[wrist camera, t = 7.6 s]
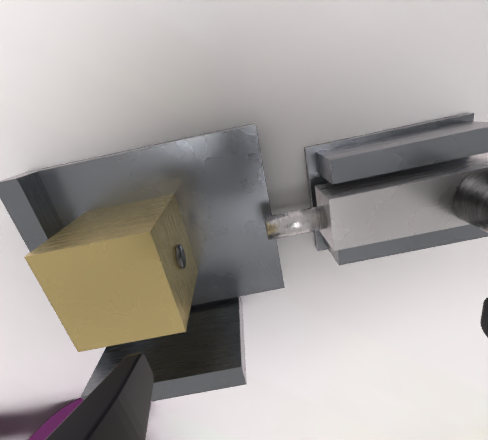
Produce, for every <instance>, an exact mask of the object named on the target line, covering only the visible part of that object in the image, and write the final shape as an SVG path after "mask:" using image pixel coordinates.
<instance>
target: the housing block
mask: <svg viewBox="0 0 488 440" xmlns="http://www.w3.org/2000/svg"><path fill="white" fill-rule="evenodd" d="M25 259H26V261H27V263H28V264H29V266H30V268H31V270H32V271H33V273H34V275H35V277H36V278H37V280H38V282H39V284H40V285H41V287H42V289H43V291H44V293H45V294H46V296H47V298H48V300H49V301H50V303H51V305H52V307H53V308H54V310H55V312H56V314H57V316H58V317H59V319H60V321H61V323H62V324H63V326H64V328H65V330H66V331H67V333H68V335H69V337H70V338H71V340H72V342H73V344H74V346H75V347H76V349H77V351H78V352H81V351H86V350H91V349H97V348H102V347H107V346H113V345H118V344H123V343H129V342H134V341H139V340H144V339H150V338H155V337H160V336H166V335H171V334H176V333H182V332H186V329H187V324H188V319H189V314H190V309H191V304H192V299H193V294H194V289H195V284H196V279H197V274H198V269H197V266H196V263H195V259H194V256H193V253H192V250H191V246H190V243H189V240H188V236H187V233H186V230H185V227H184V223H183V220H182V217H181V214H180V210H179V207H178V204H177V201H176V197H175V194H170V195H165V196H160V197H155V198H150V199H146V200H141V201H136V202H131V203H126V204H121V205H117V206H112V207H107V208H102V209H97V210H92V211H88V212H85V213H84V214H82V215H81V216H79V217H78V218H77V219H75V220H74V221H73V222H71V223H70V224H69V225H67V226H66V227H65V228H63V229H62V230H60V231H59V232H58V233H56V234H55V235H54V236H52V237H51V238H50V239H48V240H47V241H45V242H44V243H43V244H41V245H40V246H39V247H37V248H36V249H35V250H33V251H32V252H30V253H29V254H28V255H26V256H25Z"/></svg>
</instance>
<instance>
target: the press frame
mask: <svg viewBox="0 0 488 440" xmlns="http://www.w3.org/2000/svg"><path fill="white" fill-rule="evenodd" d="M473 118H474V113H465V114H461V115H456V116H451V117H446V118H442V119H437V120H432V121H427V122H423V123H418V124H413V125H408V126H404V127H399V128H394V129H389V130H385V131H380V132H375V133H370V134H366V135H361V136H356V137H351V138H347V139H342V140H337V141H332V142H328V143H323V144H318V145H313V146H309V147H304V148H305V157H306V165H307V174H308V182H309V191H310V199H311V208H312V207H317V202H316V193H315V186H316V185H321V184H326V183H331V184H337V183H341V182H346V181H351V180H356V179H361V178H366V177H371V176H376V175H380V174H385V173H390V172H395V171H400V170H405V169H410V168H415V167H420V166H424V165H429V164H434V163H439V162H444V161H449V160H454V159H459V158H463V157H468V156H473V155H478V154H483V153H488V123H486V122H473ZM170 194H175V197H176V201H177V204H178V207H179V210H180V214H181V217H182V220H183V223H184V227H185V230H186V233H187V236H188V240H189V243H190V246H191V250H192V253H193V256H194V259H195V263H196V266H197V269H198V274H197V279H196V284H195V289H194V294H193V299H192V304H191V309H190V314H189V319H188V324H187V329H186V332H182V333H176V334H171V335H166V336H160V337H155V338H150V339H144V340H139V341H134V342H129V343H123V344H118V345H113V346H107V347H106V349H105V351H104V353H103V355H102V357H101V359H100V361H99V362H98V364H97V366H96V368H95V370H94V372H93V374H92V376H91V378H90V380H89V382H88V384H87V386H86V388H85V390H84V392H83V393H82V395H81V397H82V399H83V400H84V399H85V398H86V397H87V396H88V395H89V394H90V393H91V392H92V391H93V390H94V389H95V388H96V387H97V386H98V385H99V384H100V383H101V382H102V381H103V380H104V379H105V378H106V377H107V375H108V374H109V373H110V372H111V371H112V370H113V369H114V368H115V367H116V366H117V365H118V364H119V363H120V362H121V361H122V360H123V359H124V358H125V357H126V356H128V355H131V354H137V353H143V354H144V355H145V357H146V359H147V361H148V364H149V366H150V368H151V370H152V373H153V377H154V383H153V390H152V397H151V401H156V400H162V399H167V398H173V397H178V396H184V395H189V394H195V393H201V392H206V391H212V390H217V389H223V388H228V387H234V386H239V385H245V384H246V366H245V348H244V329H243V311H242V302H241V298H240V296H244V295H249V294H254V293H259V292H264V291H270V290H275V289H280V288H284V282H283V277H282V271H281V265H280V260H279V254H278V248H277V243H276V239H271V240H268V236H267V232H266V227H265V221H264V217H267V216H272V214H271V209H270V203H269V197H268V192H267V186H266V180H265V175H264V169H263V163H262V158H261V152H260V146H259V141H258V135H257V129H256V124H254V123H253V124H249V125H244V126H239V127H235V128H230V129H226V130H221V131H216V132H212V133H207V134H202V135H198V136H193V137H188V138H184V139H179V140H174V141H170V142H165V143H160V144H156V145H151V146H146V147H142V148H137V149H133V150H128V151H123V152H119V153H114V154H109V155H105V156H100V157H95V158H91V159H86V160H81V161H77V162H72V163H67V164H63V165H58V166H53V167H49V168H44V169H39V170H35V171H30V172H26V173H23V174H20V175H17V176H14V177H11V178H8V179H5V180H2V181H0V198H1V200H2V202H3V204H4V206H5V208H6V209H7V211H8V213H9V215H10V217H11V218H12V220H13V222H14V224H15V226H16V227H17V229H18V231H19V233H20V235H21V236H22V238H23V240H24V242H25V244H26V245H27V247H28V249H29V251H30V252H32V251H33V250H35V249H36V248H37V247H39V246H40V245H41V244H43V243H44V242H45V241H47V240H48V239H50V238H51V237H52V236H54V235H55V234H56V233H58V232H59V231H60V230H62V229H63V228H65V227H66V226H67V225H69V224H70V223H71V222H73V221H74V220H75V219H77V218H78V217H79V216H81V215H82V214H84V213H85V212H88V211H92V210H97V209H102V208H107V207H112V206H117V205H121V204H126V203H131V202H136V201H141V200H146V199H150V198H155V197H160V196H165V195H170ZM314 233H315V241H316V248H317V250H318V251H320V250H325V249H328V250H329V251H330V252H331V254H332V255H333V257H334V258H335V260H336V261H337V263H338V264H339V265H343V264H348V263H353V262H358V261H363V260H368V259H374V258H379V257H384V256H389V255H394V254H399V253H404V252H410V251H415V250H420V249H425V248H430V247H435V246H440V245H446V244H451V243H456V242H461V241H466V240H471V239H477V238H482V237H487V236H488V233H487V232H485V231H483V230H481V229H479V228H477V227H475V226H473V225H471V224H469V225H464V226H459V227H454V228H449V229H443V230H438V231H433V232H428V233H423V234H418V235H413V236H408V237H403V238H398V239H393V240H387V241H382V242H377V243H372V244H367V245H362V246H357V247H352V248H347V249H342V250H336V251H333V249H332V248H331V246H330V245H329V243H328V242H327V241H326V239H325V238H324V236H323V235H322V234H321V232H320V230H317V231H314Z"/></svg>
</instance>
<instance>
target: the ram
mask: <svg viewBox="0 0 488 440" xmlns="http://www.w3.org/2000/svg"><path fill="white" fill-rule="evenodd" d="M315 193H316V202H317V207H312V208H307V209H302V210H297V211H292V212H287V213H282V214H277V215H272V216H267V217H264V221H265V227H266V232H267V236H268V240H271V239H276V238H281V237H286V236H291V235H296V234H301V233H307V232H312V231H317V230H320V232H321V234H322V235H323V236H324V238H325V239H326V241H327V242H328V243H329V245H330V246H331V248H332V249H333V251H336V250H342V249H347V248H352V247H357V246H362V245H367V244H372V243H377V242H382V241H387V240H393V239H398V238H403V237H408V236H413V235H418V234H423V233H428V232H433V231H438V230H443V229H449V228H454V227H459V226H464V225H469V224H471V225H473V226H475V227H477V228H479V229H481V230H483V231H485V232H487V233H488V153H483V154H478V155H473V156H468V157H463V158H459V159H454V160H449V161H444V162H439V163H434V164H429V165H424V166H420V167H415V168H410V169H405V170H400V171H395V172H390V173H385V174H380V175H376V176H371V177H366V178H361V179H356V180H351V181H346V182H341V183H337V184H331V183H326V184H321V185H316V186H315Z"/></svg>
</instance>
